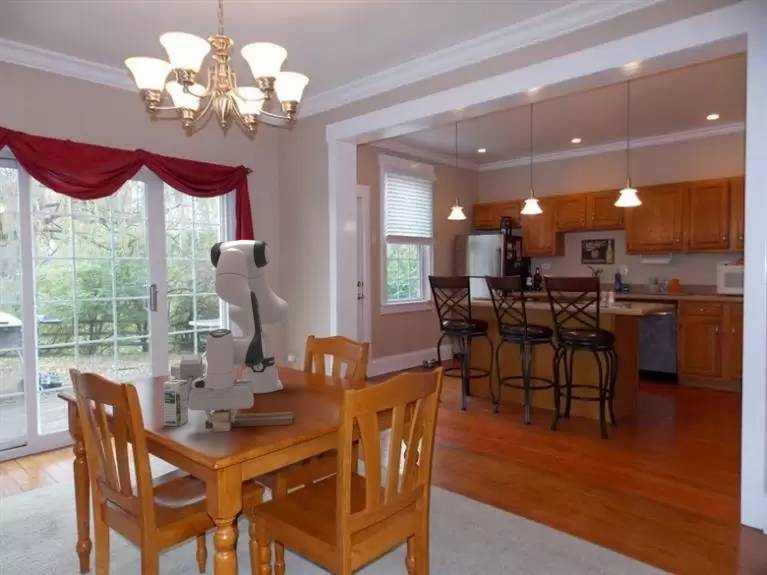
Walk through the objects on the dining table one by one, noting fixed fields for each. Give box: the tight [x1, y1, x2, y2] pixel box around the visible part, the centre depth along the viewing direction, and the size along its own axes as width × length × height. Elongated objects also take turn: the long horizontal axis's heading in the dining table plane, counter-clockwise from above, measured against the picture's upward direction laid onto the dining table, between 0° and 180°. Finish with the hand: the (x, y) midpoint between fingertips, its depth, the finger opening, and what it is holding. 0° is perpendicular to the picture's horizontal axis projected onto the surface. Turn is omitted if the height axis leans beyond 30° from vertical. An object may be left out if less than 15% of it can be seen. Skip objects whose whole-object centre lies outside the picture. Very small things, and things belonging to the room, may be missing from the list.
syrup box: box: [162, 379, 189, 427], centre depth 176 cm, size 6×6×14 cm
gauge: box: [212, 409, 232, 433], centre depth 173 cm, size 12×5×7 cm, turn 6°
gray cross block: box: [170, 361, 207, 380], centre depth 241 cm, size 15×15×8 cm
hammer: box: [179, 353, 204, 401], centre depth 208 cm, size 15×8×30 cm
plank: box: [205, 411, 295, 429], centre depth 176 cm, size 8×28×2 cm, turn 95°
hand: (222, 422), depth 169 cm, fingers closed on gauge, 5 cm apart
